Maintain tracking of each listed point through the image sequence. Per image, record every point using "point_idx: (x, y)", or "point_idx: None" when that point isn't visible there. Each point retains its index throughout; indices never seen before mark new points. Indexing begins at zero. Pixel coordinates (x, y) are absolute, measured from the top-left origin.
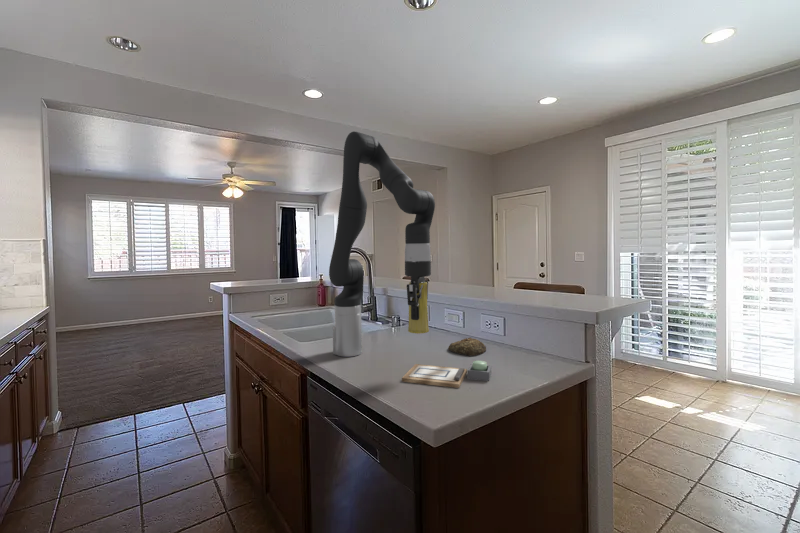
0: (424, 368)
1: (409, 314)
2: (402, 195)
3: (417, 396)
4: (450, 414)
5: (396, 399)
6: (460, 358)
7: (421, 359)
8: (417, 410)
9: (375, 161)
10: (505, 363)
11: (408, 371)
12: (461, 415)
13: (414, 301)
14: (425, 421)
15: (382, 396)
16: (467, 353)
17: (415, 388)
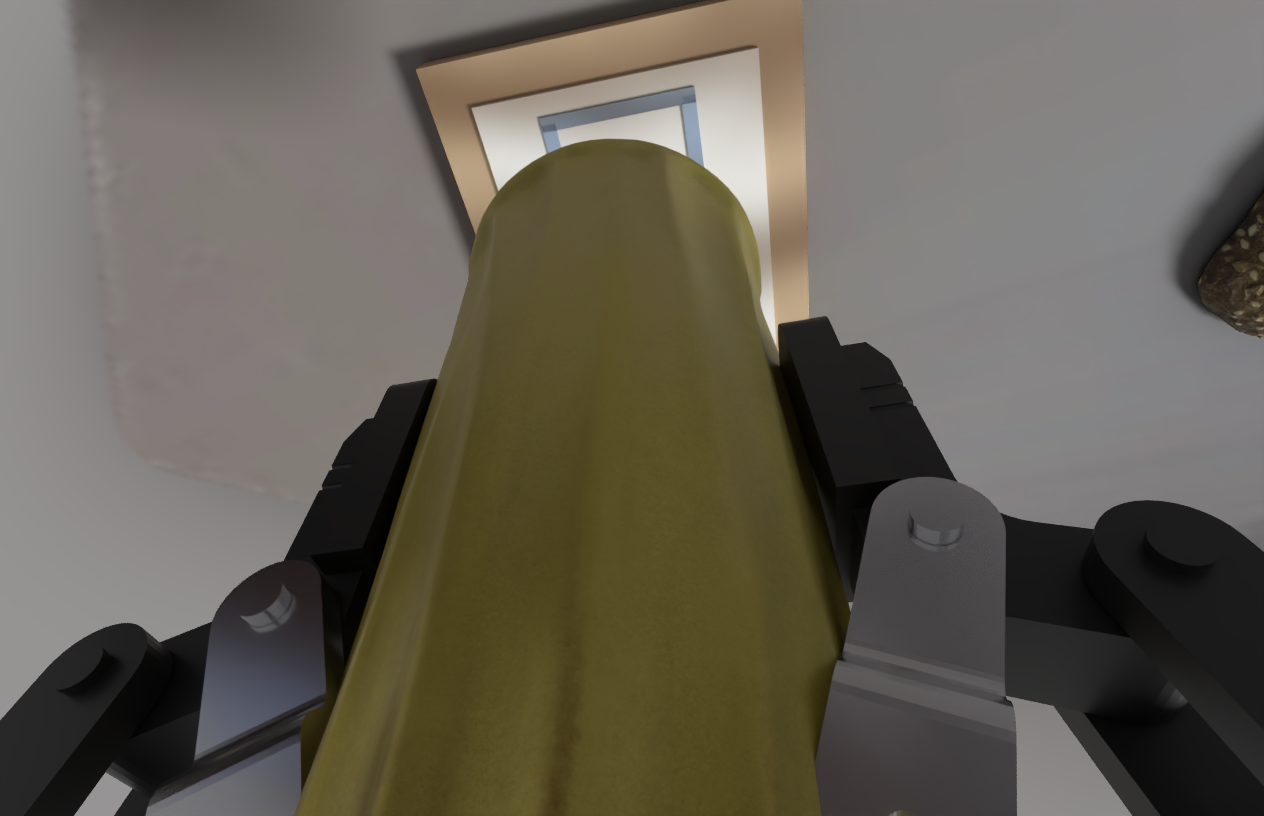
0: (688, 142)
1: (466, 338)
2: None
3: (298, 281)
4: (265, 464)
5: (166, 199)
6: (1126, 234)
7: None
8: (172, 352)
9: None
10: (1032, 479)
11: (579, 36)
12: (292, 494)
13: (120, 810)
14: (129, 417)
15: (112, 90)
16: (1218, 267)
17: (385, 217)
